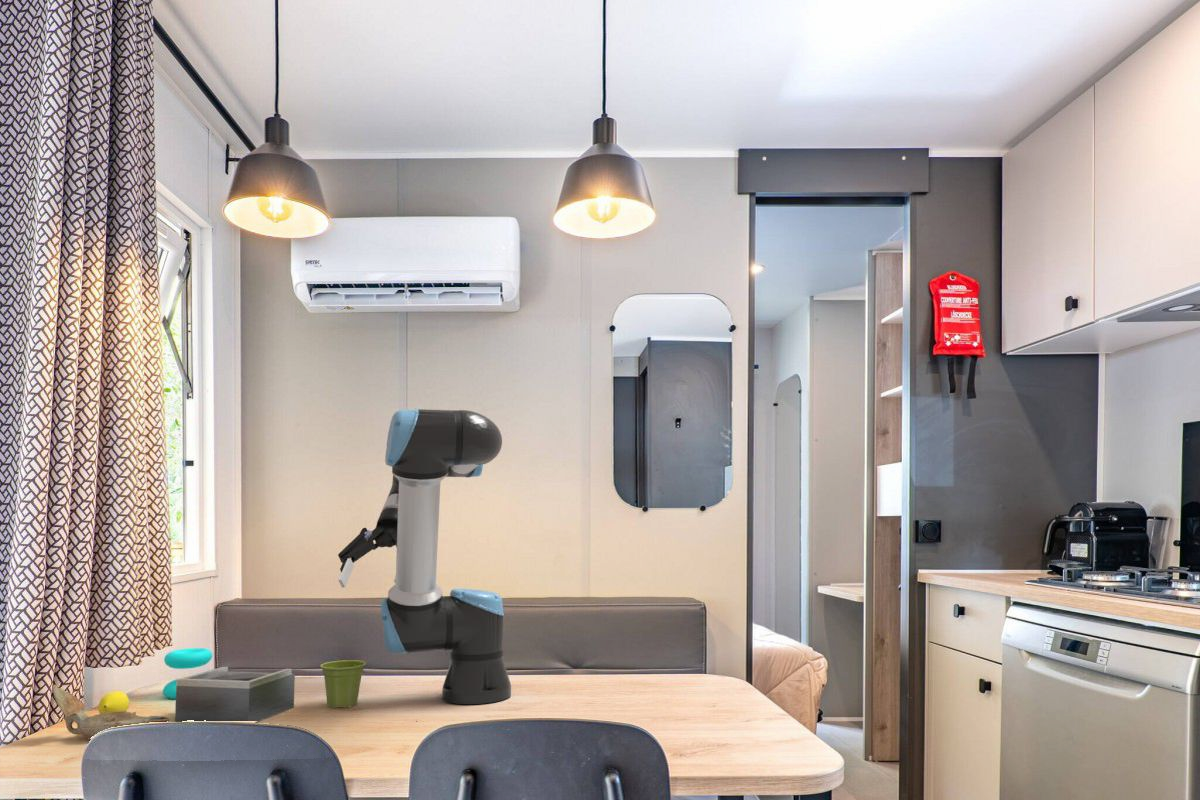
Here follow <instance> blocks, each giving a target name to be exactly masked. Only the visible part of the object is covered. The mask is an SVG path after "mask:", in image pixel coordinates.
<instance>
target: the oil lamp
mask: <svg viewBox="0 0 1200 800" xmlns="http://www.w3.org/2000/svg"><path fill="white" fill-rule="evenodd" d="M52 693H53V696H54V700H55V701H56V704H57V706H58V707H59V709H60V710H61V713H62V714H64V719H65V727H66V729H67V731H68V732H69V733H70V734H73V735H80V736H83V737H84V738H86V739H88V738H89V740H90V738H91V737H92V736H94V735H95V734H97V733H98V732H100V731H103V730H105V729H108V728H111V727H117V726H123V725H131V724H139V723H149V722H167V721H169V722H170V720H171V717H169V716H165V715H149V716H141V715H138V714H137V712H130V711H126V712H122V711H121V712H110V713H103V714H100V713H99V714H94V715H91V716H88V715H87V714H86V713H85V712H84V709H86V705H85V704H84V702H83V701H81V700H80V699H79V698H77V697H76V696H75V695H73V694H71V693H70V692H68V691H66V690H64V689H62V688H60V687H58V686H57V684H53V685H52ZM73 723H76V725H77V726H76V727H73Z"/></svg>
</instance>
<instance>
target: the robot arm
mask: <svg viewBox="0 0 1200 800" xmlns="http://www.w3.org/2000/svg"><path fill="white" fill-rule="evenodd" d="M502 445H503V437H502V434H501V431H500V429H499V427H498V426H497V425H496V423H495V422H493V421H492V420H491V419H490V418H489V417H487V416H485V415H483V414H481V413H478V412H475V411H472V410H466V409H464V410H463V409H459V410H455V409H453V410H452V409H451V410H449V409H419V408H414V409H399V410H397V411H395V412H394V413H393V414H392V416H391V421H390V423H389V429H388V433H387V440H386V449H385V459H384V461H385V465H386V466H389V467H391V473H392V482H391V483H392V484H391V488H390V490H389V493H388V495H387V497H386V499H385V503H384V505H383V507H382V509H381V512H380V515H379V517H378V519H377V521H376V525H375V527H374V529H373V530H368V529H367V528H366V527H363V528H362V529H361V531H360V532H359V534H357V536H356V537H355V538H353V540H351V542H349V543H348V545H346V546H345V547H344V548H343V549H341V551H340V552H339V553H337V556H338V558H339V560H340V563H341V566H340V568H339V569H340V575H339V578H338V582H339V584H340V586H341V588H346V587H347V583H348V582H349V579H350V577H351V575H352V572H353V569H354V568H355V564H354V563H355V562H357V561H358V560H359V559H361V558H363V557H365V555H367V554H369V552H371V551H373V550H374V551H375V550H377V549H378V548H385V547H386V548H393V547H396V558H395V559H396V563H395V576H394V578H393V582H394V584H393V585H392V587H390V588H389V590H388V592H387V598H384V599H382V600H381V601H380V608H381V609H380V610H381V617H382V628H383V637H384V644H385V645H384V646H385V649H386V650H387V652H389V653H391V654H406V655H407V654H408V655H409V654H411V653H412V654H414V653H426V652H427V653H429V652H439V651H450V662H449V665H448V670H447V673H446V676H445V678H444V682H443V685H442V688H441V689H442V690H441V692H442V695H441V699H442V700H443V701H444V702H446V703H450V704H457V705H480V704H481V705H482V704H488V703H489V704H490V703H496V702H500V701H504V700H506V699H509V698H510V697H511V696H512V684H511V681H510V676H509V674H508V672H507V671H508V670H507V667H506V665H505V662H504V615H505V613H504V606H503V604H504V603H503V599H502V596H501V595H500V594H499V593H496V592H493V591H488V590H487V591H486V590H482V589H481V590H480V589H472V588H471V589H469V588H452V589H451V590H450V592H449V595H443V590H442V588H441V587H440V586H439V585H438V584H437V565H438V564H437V563H438V547H439V545H438V542H439V522H440V519H439V518H440V501H441V499H440V497H441V482H442V481H443V480H444V479H445V478H473V477H479V476H481V475H482V473H483V469H484V468H483V467H484V465H486V464H488V463H490V462H492V461H493V460H494V459H496V457H497V456H498V455H499V453H500V452H501V450H502ZM374 541H375V542H374Z"/></svg>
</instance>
